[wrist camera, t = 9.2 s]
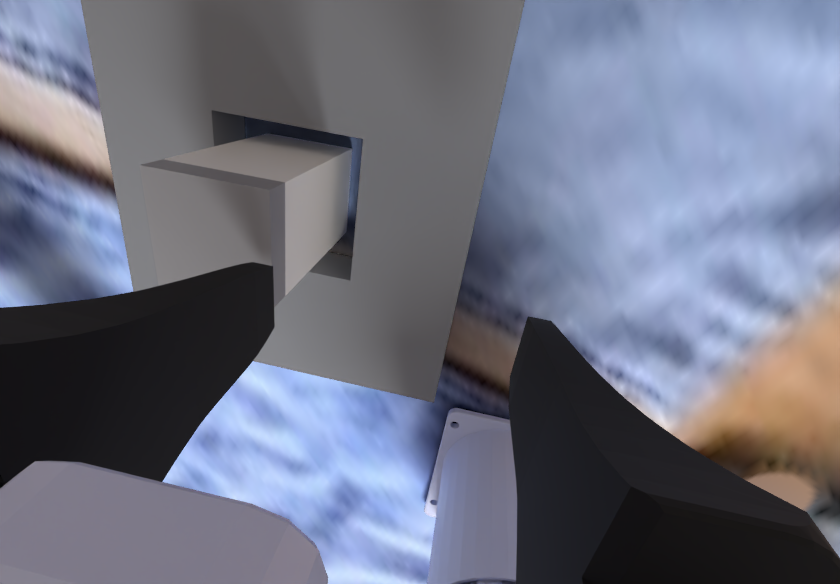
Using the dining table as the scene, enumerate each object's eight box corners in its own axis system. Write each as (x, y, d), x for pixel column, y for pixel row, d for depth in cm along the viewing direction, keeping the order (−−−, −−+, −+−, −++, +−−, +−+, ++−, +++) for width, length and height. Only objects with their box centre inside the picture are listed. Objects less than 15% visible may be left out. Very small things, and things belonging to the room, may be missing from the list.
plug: (346, 231, 21) (272, 309, 14) (269, 216, 21) (158, 285, 14) (352, 148, 19) (269, 190, 12) (268, 133, 20) (139, 165, 12)
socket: (439, 372, 24) (433, 402, 22) (172, 312, 25) (141, 335, 23) (525, -13, 16) (531, -28, 13) (119, -79, 17) (61, -103, 14)
